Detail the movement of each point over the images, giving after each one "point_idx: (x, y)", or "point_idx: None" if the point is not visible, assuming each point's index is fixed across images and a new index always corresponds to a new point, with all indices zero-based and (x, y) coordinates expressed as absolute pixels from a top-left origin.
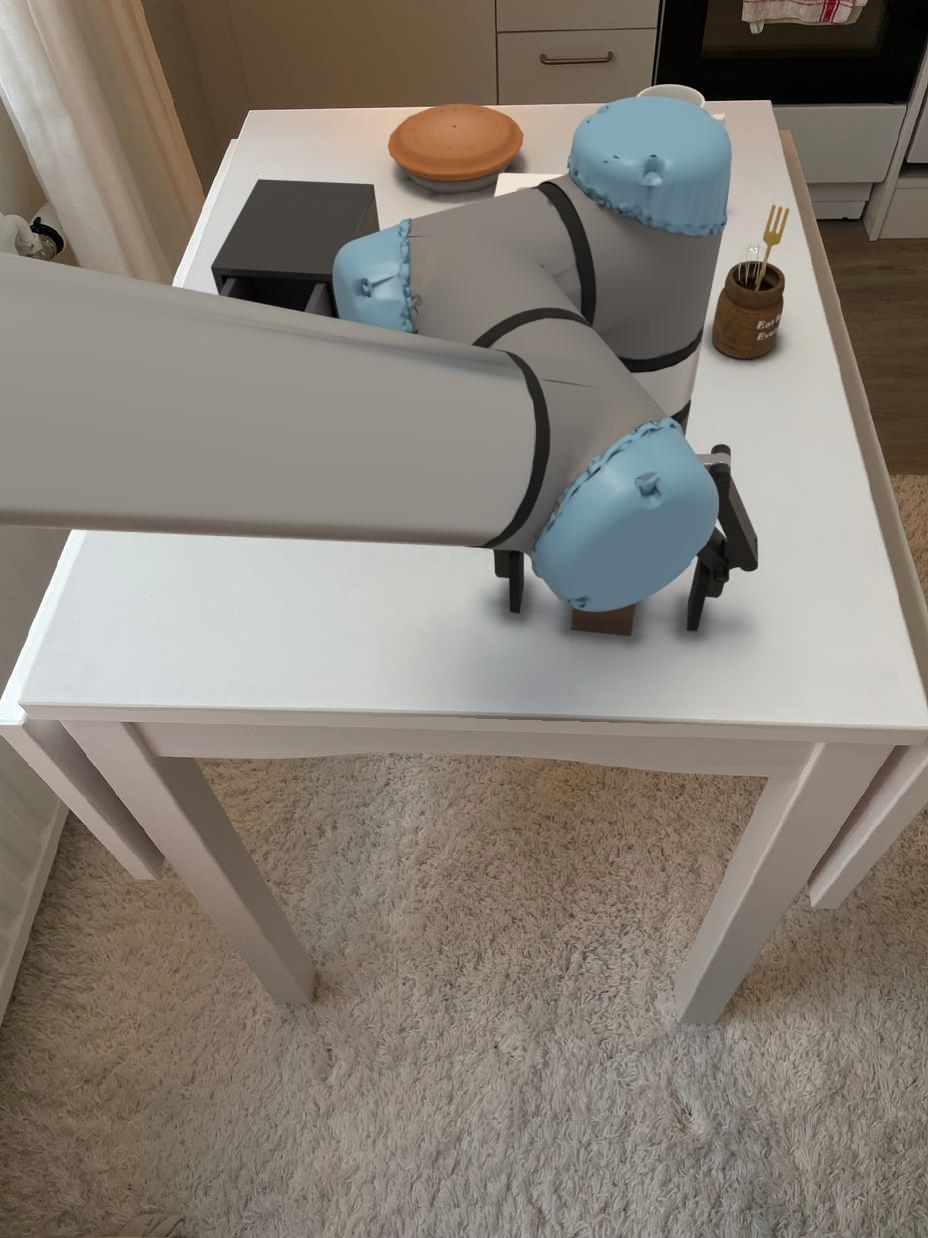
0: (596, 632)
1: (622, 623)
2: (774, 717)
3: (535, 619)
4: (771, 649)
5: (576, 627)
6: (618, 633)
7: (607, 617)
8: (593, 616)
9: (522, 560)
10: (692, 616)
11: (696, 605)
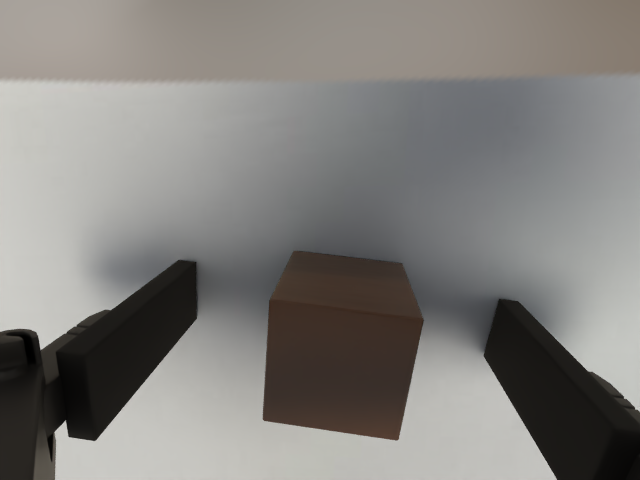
0: (355, 258)
1: (306, 266)
2: (38, 81)
3: (467, 287)
4: (59, 226)
5: (393, 266)
6: (315, 254)
7: (336, 275)
8: (365, 278)
9: (539, 413)
10: (171, 278)
11: (149, 294)
